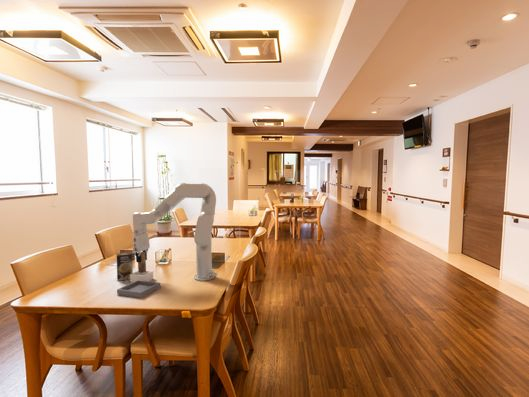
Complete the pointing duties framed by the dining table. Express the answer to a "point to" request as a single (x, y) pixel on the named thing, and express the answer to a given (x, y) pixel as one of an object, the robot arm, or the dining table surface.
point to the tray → (138, 289)
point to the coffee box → (124, 266)
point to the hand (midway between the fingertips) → (141, 260)
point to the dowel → (142, 263)
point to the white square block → (141, 276)
